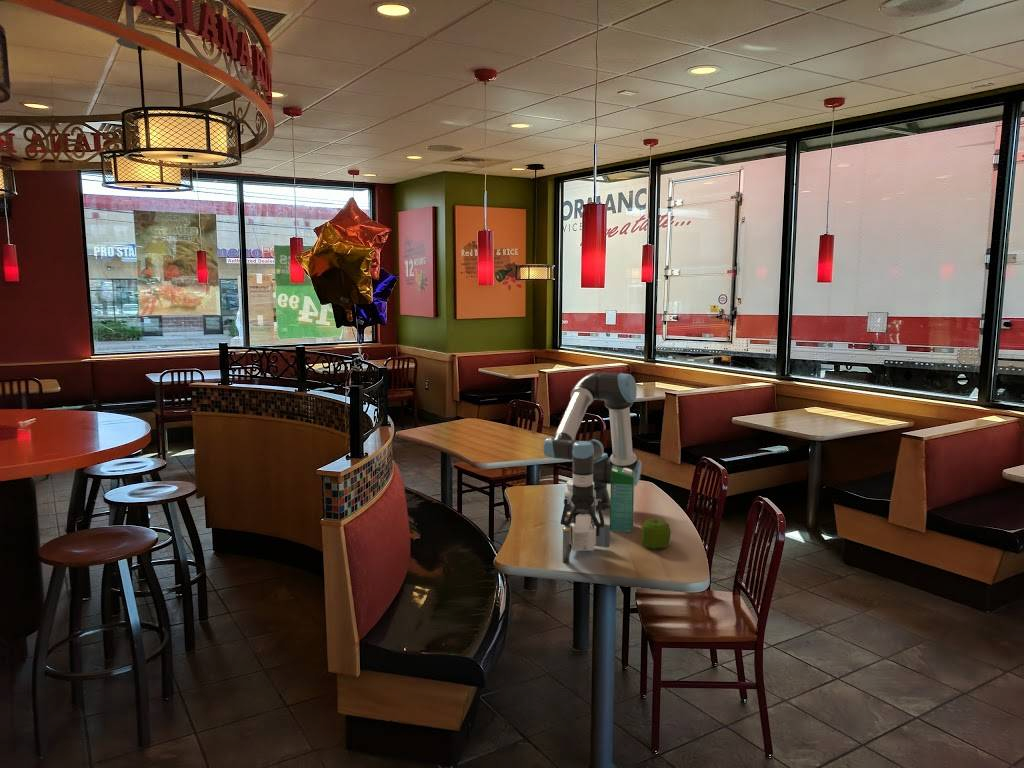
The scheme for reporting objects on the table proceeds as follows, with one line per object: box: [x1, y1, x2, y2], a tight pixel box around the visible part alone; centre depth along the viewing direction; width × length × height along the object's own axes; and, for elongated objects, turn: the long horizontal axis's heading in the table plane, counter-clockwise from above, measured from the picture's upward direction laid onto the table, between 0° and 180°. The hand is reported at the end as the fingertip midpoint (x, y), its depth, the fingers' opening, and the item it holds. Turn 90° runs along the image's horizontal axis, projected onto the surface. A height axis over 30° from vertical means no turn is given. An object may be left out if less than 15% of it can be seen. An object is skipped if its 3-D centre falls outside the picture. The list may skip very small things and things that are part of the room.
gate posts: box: [561, 512, 574, 564], centre depth 265 cm, size 20×3×13 cm, turn 170°
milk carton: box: [609, 465, 635, 533], centre depth 292 cm, size 9×9×25 cm
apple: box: [640, 518, 672, 550], centre depth 272 cm, size 11×11×11 cm
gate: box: [592, 523, 611, 549], centre depth 271 cm, size 13×2×9 cm, turn 70°
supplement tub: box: [564, 478, 597, 523], centre depth 295 cm, size 13×13×18 cm
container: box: [571, 511, 595, 552], centre depth 265 cm, size 8×8×13 cm
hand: (582, 543), depth 266 cm, fingers closed on container, 9 cm apart
